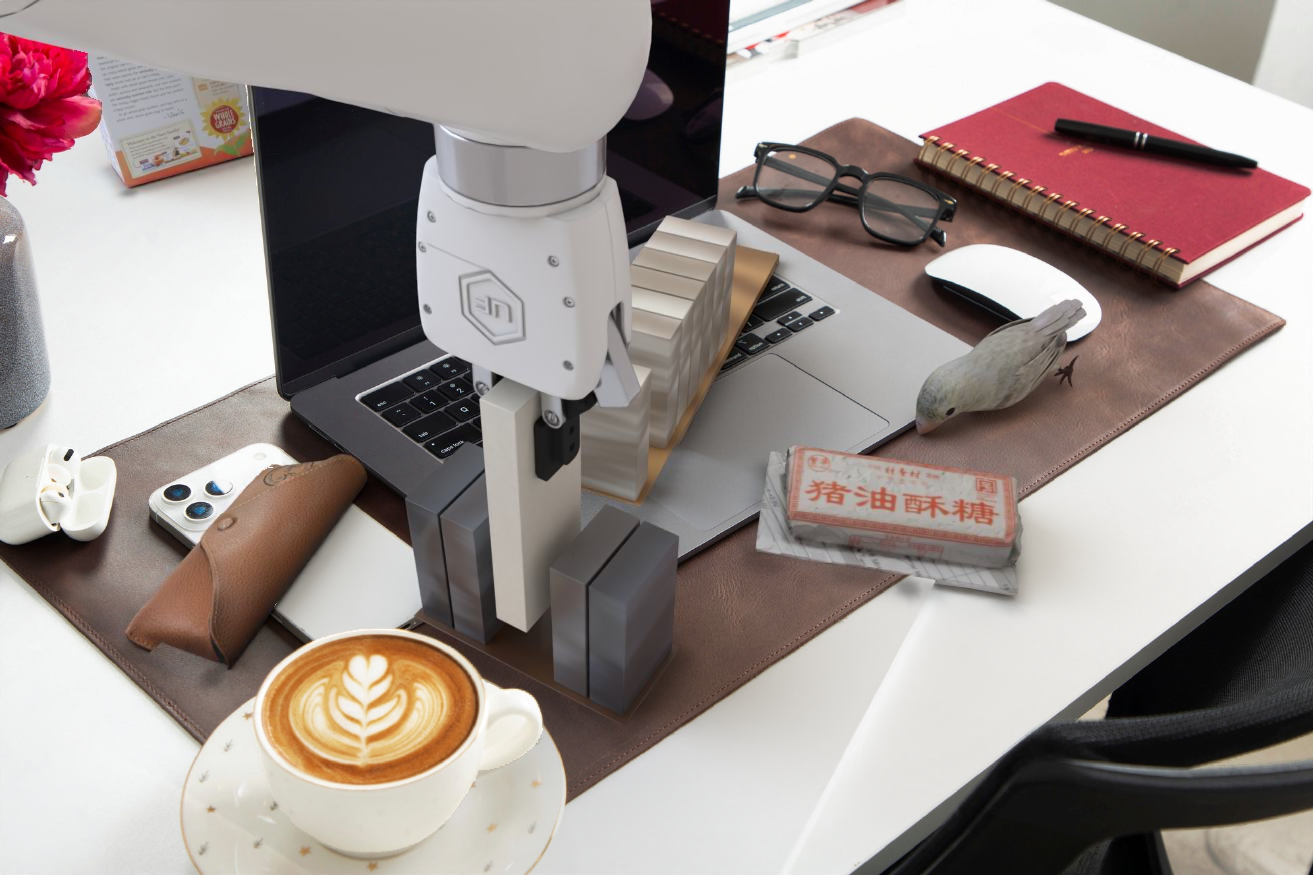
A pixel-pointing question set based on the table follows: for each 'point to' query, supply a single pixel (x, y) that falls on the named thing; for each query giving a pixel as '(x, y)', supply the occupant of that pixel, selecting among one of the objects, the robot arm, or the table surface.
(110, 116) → the cracker box
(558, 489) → the cream book
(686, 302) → the cream book rack
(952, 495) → the packaged product
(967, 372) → the decorative bird
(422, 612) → the grey book rack
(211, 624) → the sunglasses case
